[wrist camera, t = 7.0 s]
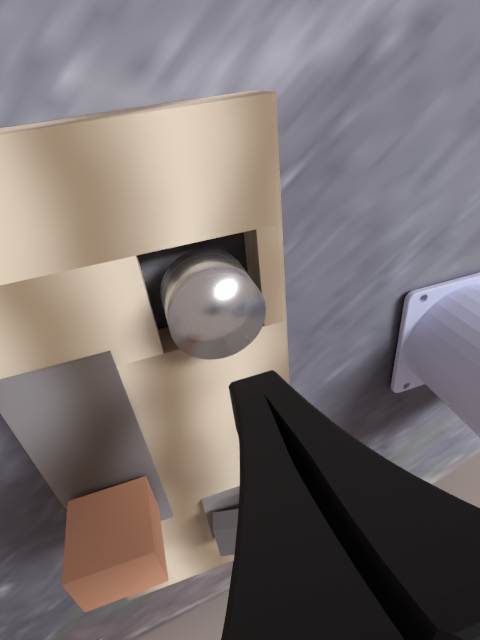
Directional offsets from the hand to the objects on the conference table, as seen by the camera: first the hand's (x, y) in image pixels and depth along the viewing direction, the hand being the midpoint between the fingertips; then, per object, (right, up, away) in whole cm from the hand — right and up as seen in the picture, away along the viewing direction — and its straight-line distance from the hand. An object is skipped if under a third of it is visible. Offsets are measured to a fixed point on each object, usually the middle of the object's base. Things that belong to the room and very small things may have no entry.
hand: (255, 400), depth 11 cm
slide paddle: (-7, -8, +10) cm, 14 cm away
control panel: (-4, -3, +11) cm, 12 cm away
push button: (-2, +4, +6) cm, 7 cm away
